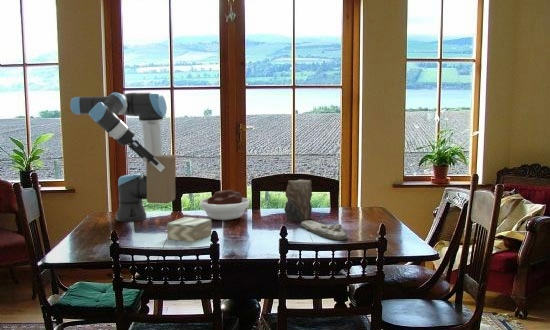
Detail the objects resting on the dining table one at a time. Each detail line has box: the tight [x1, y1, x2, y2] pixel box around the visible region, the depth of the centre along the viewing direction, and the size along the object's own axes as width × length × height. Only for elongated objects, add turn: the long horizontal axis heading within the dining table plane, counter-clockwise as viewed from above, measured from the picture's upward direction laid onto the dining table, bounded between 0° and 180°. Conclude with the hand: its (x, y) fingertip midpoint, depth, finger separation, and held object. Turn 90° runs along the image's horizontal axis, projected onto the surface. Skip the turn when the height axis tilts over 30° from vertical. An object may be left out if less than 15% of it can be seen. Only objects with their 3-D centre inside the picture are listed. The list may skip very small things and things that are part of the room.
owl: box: [283, 178, 313, 223], centre depth 277 cm, size 13×13×20 cm
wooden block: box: [146, 154, 176, 204], centre depth 236 cm, size 10×10×20 cm
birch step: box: [166, 216, 213, 243], centre depth 242 cm, size 14×14×7 cm
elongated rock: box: [300, 219, 348, 241], centre depth 248 cm, size 35×5×10 cm
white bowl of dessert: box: [199, 189, 250, 221], centre depth 280 cm, size 25×25×15 cm
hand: (159, 168), depth 235 cm, fingers closed on wooden block, 13 cm apart
